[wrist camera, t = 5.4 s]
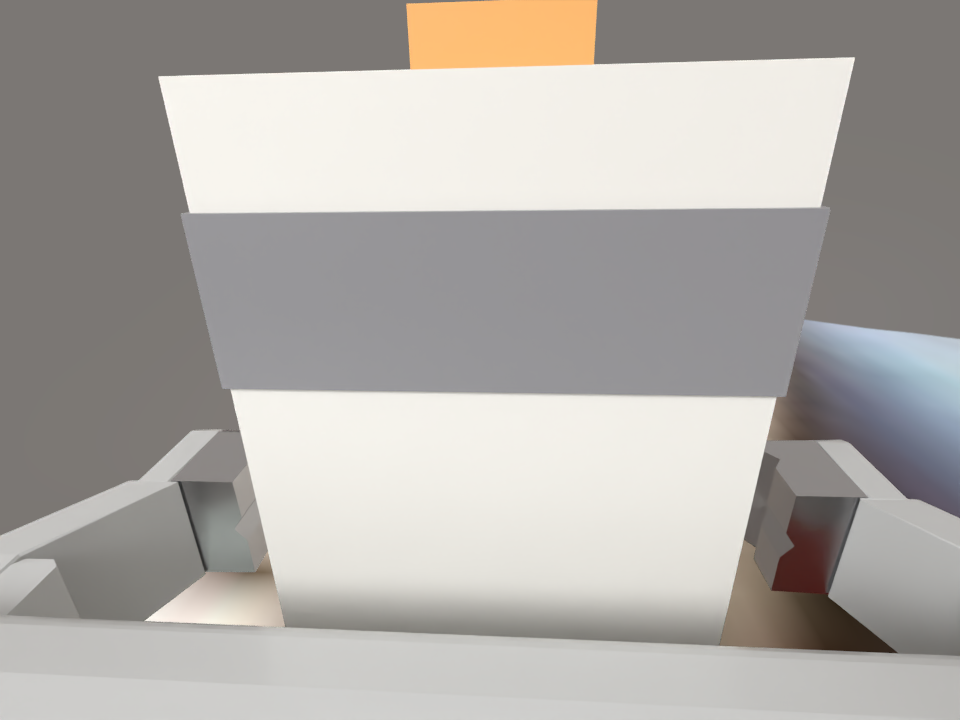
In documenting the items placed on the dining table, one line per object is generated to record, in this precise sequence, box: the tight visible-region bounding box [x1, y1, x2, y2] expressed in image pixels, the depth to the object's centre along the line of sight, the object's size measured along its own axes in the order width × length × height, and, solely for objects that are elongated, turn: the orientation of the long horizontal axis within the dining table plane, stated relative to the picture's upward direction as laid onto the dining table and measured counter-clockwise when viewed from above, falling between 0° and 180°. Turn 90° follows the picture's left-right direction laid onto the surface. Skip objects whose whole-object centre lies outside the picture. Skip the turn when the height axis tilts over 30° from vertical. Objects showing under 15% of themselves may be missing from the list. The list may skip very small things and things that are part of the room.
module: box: [159, 0, 855, 646], centre depth 10 cm, size 7×5×15 cm
